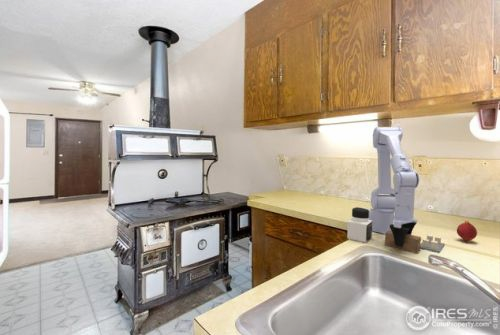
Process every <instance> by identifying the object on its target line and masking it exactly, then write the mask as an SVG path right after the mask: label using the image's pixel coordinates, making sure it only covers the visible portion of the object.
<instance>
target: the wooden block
mask: <svg viewBox="0 0 500 335" xmlns="http://www.w3.org/2000/svg"><path fill="white" fill-rule="evenodd" d="M421 239H422V237H421V236H419V235H414V234H411V235H410V234H406V237H405V241H404V245H403V247H399V246H396V245H395V241H394V236H393V233H392V231H391V230H389V231H387V232H386V233H385V236H384V246H386V247H389V248H392V249H398V250H401V251H403V252H408V253H413V254H415V255H416V254H418V253H419V252H420V251H421V249H420V244H421V243H422V242H421V241H422V240H421Z"/></svg>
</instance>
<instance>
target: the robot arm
mask: <svg viewBox="0 0 500 335" xmlns="http://www.w3.org/2000/svg"><path fill="white" fill-rule="evenodd" d="M403 132H404V131H403V129H402V128H401V126H376V127H375V128H374V129H373V132H372V146H373V148H375V149H376V151H377V152H376V153H377V172H378V173H377V175H378V176H377V180H378V182H377V183H378V184H377V185H378V187H376V188H375V189H374V190H372V191H371V197H370V207H371V208H370V209H368V210H369V220H372V232H376V233H380V234H385V233H386V232H387V231H389V230H391V231H392V233H393V236H394V241H395V245H396V246H399V247H403V245H404V241H405V237H406V234H410V235H412V233H413V230H414V228H415V226H416V225H417V223H418V219H416V218H414V214H415V210H414V209H415V197H416V196H415V195H416V194H415V191H416V188H418V186H419V183H420V176H419V174H418V172H417V171H416V170H415V169H414V168H412V166H411V164H410V163H411V162H410V160H409V158H408V156H407V155H406V154H404V153H403V149H402V144H401V141H402V138H403V134H404V133H403ZM392 172H393V177H392ZM392 183H393V184H392ZM392 185H393V187H392Z"/></svg>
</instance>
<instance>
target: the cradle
mask: <svg viewBox="0 0 500 335" xmlns="http://www.w3.org/2000/svg"><path fill="white" fill-rule="evenodd" d="M445 245H446V244H445V243H443V242H442V236H434V235H432V234H427V235H426V238H423V239H422V242H421V243H420V250H426V251H430V252H433V253H437V254H440V253H441V251H442V250H443V248H444V247H445Z"/></svg>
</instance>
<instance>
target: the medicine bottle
mask: <svg viewBox="0 0 500 335" xmlns="http://www.w3.org/2000/svg"><path fill="white" fill-rule="evenodd" d="M369 210H370V209H368V208H366V207H361V206H360V207H359V206H356V207H353V208H352V209H351V218H350V219H349V220H348V221H347V240H352V241H357V242H361V243H365V244H366V243H368V242H369V241H370V240H371V239H372V236H373V235H372V234H373V231H372V220H369Z"/></svg>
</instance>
